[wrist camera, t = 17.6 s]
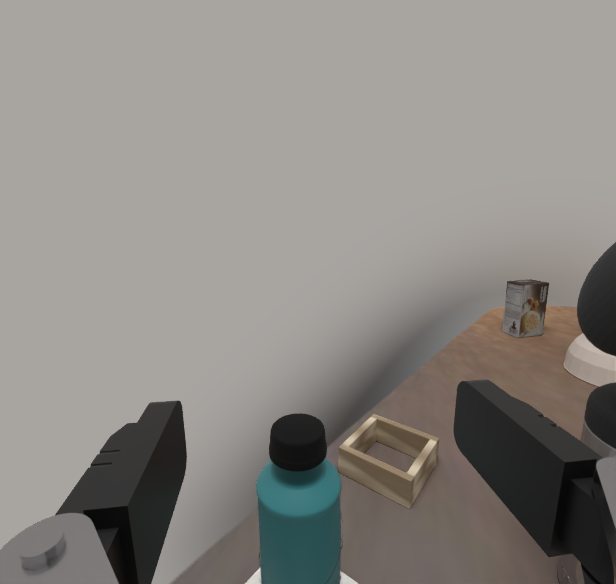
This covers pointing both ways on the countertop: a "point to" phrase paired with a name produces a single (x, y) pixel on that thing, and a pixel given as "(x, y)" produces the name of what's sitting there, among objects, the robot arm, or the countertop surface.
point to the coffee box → (525, 308)
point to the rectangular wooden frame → (381, 474)
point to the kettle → (590, 363)
